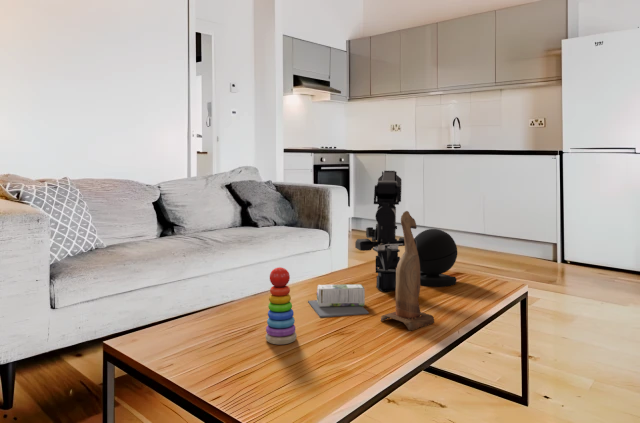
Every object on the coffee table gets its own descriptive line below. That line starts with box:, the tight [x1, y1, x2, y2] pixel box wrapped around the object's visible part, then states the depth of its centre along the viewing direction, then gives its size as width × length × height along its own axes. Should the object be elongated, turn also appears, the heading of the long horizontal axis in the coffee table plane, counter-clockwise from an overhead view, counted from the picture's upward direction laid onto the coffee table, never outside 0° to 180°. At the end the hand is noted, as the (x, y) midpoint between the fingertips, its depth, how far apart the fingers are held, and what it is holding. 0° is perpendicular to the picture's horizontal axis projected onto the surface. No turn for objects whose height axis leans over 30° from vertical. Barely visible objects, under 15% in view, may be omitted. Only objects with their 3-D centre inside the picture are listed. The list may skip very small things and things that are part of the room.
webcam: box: [413, 228, 458, 288], centre depth 186 cm, size 17×17×20 cm
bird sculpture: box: [380, 210, 435, 332], centre depth 138 cm, size 11×12×32 cm
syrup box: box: [316, 283, 366, 307], centre depth 155 cm, size 6×6×14 cm
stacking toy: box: [265, 266, 297, 345], centre depth 125 cm, size 8×8×19 cm
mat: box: [307, 299, 370, 318], centre depth 153 cm, size 15×16×1 cm
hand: (385, 270), depth 156 cm, fingers closed
